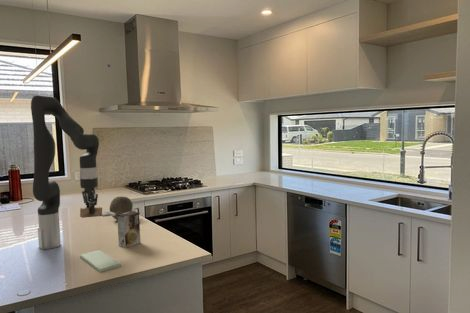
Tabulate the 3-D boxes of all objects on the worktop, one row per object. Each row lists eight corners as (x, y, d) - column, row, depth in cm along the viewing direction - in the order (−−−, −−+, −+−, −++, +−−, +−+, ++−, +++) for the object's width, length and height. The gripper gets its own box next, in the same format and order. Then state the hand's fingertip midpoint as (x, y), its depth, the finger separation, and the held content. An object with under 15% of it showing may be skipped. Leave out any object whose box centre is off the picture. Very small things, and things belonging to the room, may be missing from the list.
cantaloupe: (133, 221, 220) (132, 198, 219) (109, 223, 216) (108, 199, 215) (133, 216, 234) (132, 193, 232) (110, 217, 230) (109, 195, 228)
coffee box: (133, 240, 183) (132, 210, 182) (140, 243, 179) (139, 212, 178) (118, 245, 176) (116, 214, 175) (125, 248, 172) (123, 216, 171)
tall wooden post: (83, 218, 158) (83, 209, 158) (78, 215, 163) (79, 207, 163) (115, 215, 169) (115, 207, 169) (110, 213, 173) (110, 205, 173)
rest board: (99, 272, 144) (99, 269, 144) (80, 257, 161) (80, 254, 161) (120, 266, 150) (120, 263, 150) (99, 252, 167) (99, 249, 167)
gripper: (75, 176, 165) (77, 212, 166) (86, 179, 154) (88, 217, 156) (91, 174, 170) (93, 209, 171) (102, 177, 159) (104, 214, 161)
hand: (90, 213), depth 164 cm, fingers closed on tall wooden post, 3 cm apart
